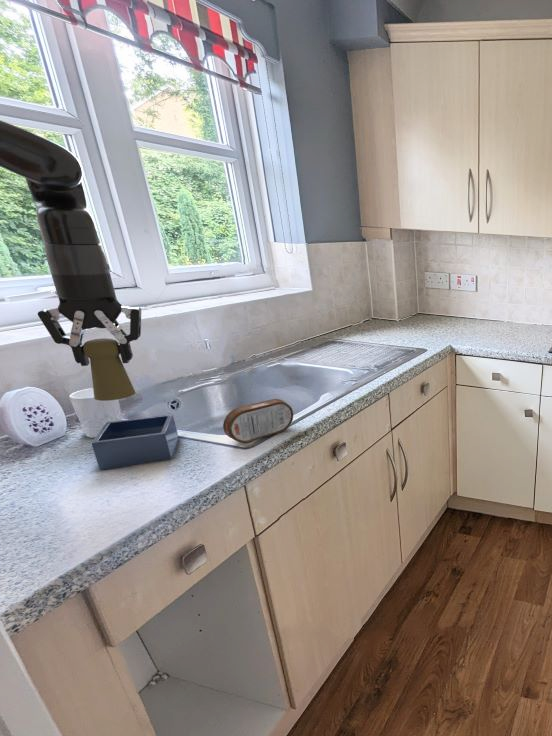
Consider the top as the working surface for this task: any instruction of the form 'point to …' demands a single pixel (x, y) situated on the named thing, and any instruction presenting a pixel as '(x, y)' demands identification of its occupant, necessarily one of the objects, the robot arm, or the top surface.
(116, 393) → the cork
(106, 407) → the white cup
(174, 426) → the holder
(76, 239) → the robot arm
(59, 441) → the top surface
